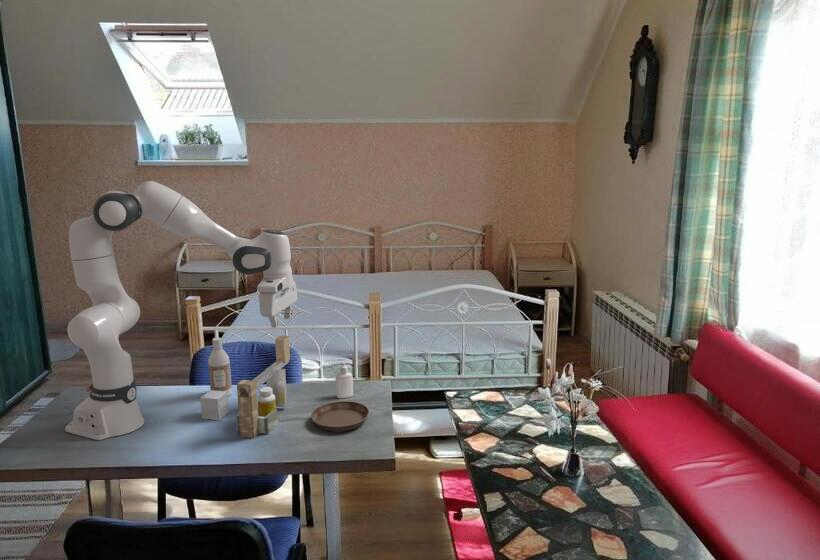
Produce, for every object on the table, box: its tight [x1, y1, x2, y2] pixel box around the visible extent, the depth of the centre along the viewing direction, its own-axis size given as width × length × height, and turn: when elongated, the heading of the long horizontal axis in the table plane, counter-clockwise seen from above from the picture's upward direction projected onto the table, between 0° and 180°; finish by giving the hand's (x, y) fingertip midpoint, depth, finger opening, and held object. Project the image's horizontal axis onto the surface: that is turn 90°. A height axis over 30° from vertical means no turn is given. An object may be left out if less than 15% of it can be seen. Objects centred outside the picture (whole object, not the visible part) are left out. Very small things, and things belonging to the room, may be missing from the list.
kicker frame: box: [235, 379, 279, 439], centre depth 187 cm, size 10×10×17 cm
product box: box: [200, 389, 229, 421], centre depth 198 cm, size 6×6×7 cm
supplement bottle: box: [257, 386, 277, 417], centre depth 196 cm, size 5×5×10 cm
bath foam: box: [207, 337, 233, 397], centre depth 213 cm, size 7×7×20 cm
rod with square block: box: [244, 335, 291, 408], centre depth 196 cm, size 6×26×21 cm, turn 166°
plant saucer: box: [311, 400, 370, 433], centre depth 194 cm, size 18×18×3 cm
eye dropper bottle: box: [335, 362, 354, 399], centre depth 211 cm, size 4×6×12 cm
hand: (281, 322), depth 203 cm, fingers open, 8 cm apart
